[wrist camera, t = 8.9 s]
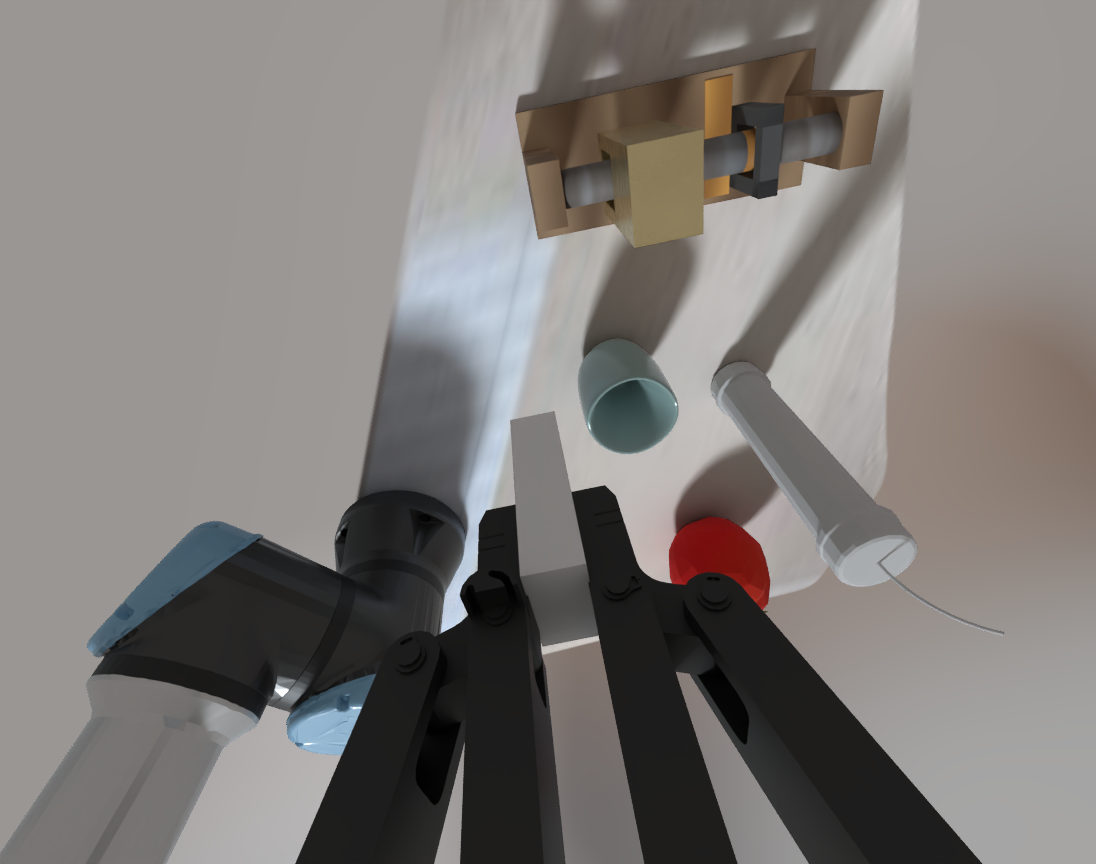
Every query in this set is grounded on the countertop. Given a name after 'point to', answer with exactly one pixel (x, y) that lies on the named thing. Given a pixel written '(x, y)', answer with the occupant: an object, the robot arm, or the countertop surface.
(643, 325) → the countertop surface
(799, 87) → the rail
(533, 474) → the robot arm
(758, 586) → the tomato
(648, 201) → the sleeve
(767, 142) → the dark grey square ring
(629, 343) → the cup
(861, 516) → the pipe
